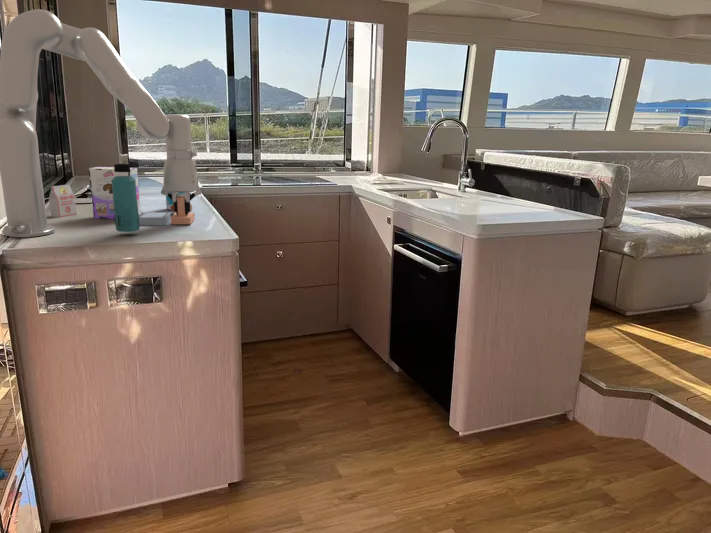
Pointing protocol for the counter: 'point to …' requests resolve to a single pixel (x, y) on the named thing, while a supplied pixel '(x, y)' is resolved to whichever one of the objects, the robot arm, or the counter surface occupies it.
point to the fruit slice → (173, 207)
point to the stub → (182, 213)
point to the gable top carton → (62, 201)
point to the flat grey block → (154, 218)
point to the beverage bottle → (125, 200)
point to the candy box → (107, 190)
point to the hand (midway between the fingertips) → (182, 213)
